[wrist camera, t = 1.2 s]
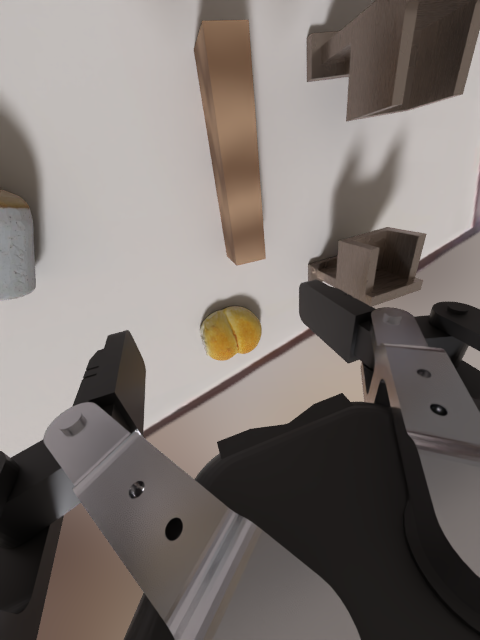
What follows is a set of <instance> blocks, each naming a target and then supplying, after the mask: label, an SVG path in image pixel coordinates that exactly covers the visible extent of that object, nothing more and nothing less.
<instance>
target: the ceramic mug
mask: <svg viewBox="0 0 480 640" xmlns="http://www.w3.org/2000/svg"><path fill="white" fill-rule="evenodd" d="M33 233H34V228H33V219H32V215H31V211H30V207H29V205H28V204H27V203H26V202H25V201H24V200H23V199H22V198H21V197H20V196H17V195H15V194H13V193H10V192H7V191H4V190H1V189H0V301H2V300H10V299H16V298H19V297H22V296H24V295H27V294H29V293H31V292H32V291H33V290H34V289H35V287H36V278H35V255H34V241H33Z"/></svg>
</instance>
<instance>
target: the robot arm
mask: <svg viewBox="0 0 480 640" xmlns="http://www.w3.org/2000/svg"><path fill="white" fill-rule="evenodd" d="M299 314H300V317H301V320H302V321H303V323H304V324H305V325H306V326H307V327H309V328H310V329H311V330H312V331H313V332H314V333H315V334H316V335H317V336H319V337H320V338H321V339H322V340H323V341H324V342H325V343H326V344H327V345H328V346H329V347H331V348H332V349H333V350H334V351H335V352H336V353H337V354H338V355H339V356H341V357H342V358H343V359H344V360H345V361H346V362H347V363H351V362H354V361H356V360H361V361H362V363H361V375H362V385H363V394H364V402H350V401H349V400H348V399H347V398H346V397H345V396H344V394H343V393H341V394H339V395H336V396H333V397H331V398H329V399H326V400H323V401H321V402H318V403H316V404H314V405H312V406H311V407H310V408H308V409H307V410H306V411H304V412H303V413H302V414H300V415H299V416H298V417H297V418H295V419H294V420H292V421H291V422H290V423H288V424H284V425H277V426H269V427H262V428H254V429H249V430H247V431H244V432H241V433H239V434H237V435H234V436H232V437H229V438H227V439H224V440H221V441H219V442H217V444H218V448H219V452H220V453H219V454H218V455H217V456H215V457H214V458H213V459H212V460H211V461H210V462H209V463H208V464H206V466H205V467H204V468H203V469H202V470H201V471H200V473H199V474H198V475H197V477H196V478H195V479H193V478H192V477H191V476H189V475H188V474H187V473H186V472H185V471H183V470H182V469H181V468H180V467H178V466H177V465H176V464H175V463H174V462H172V461H171V460H170V459H169V458H168V457H166V456H165V455H164V454H163V453H161V452H160V451H159V450H158V449H157V448H155V447H154V446H153V445H152V444H151V443H149V442H148V441H147V440H146V439H144V438H143V425H144V400H145V376H146V369H145V364H144V361H143V358H142V356H141V354H140V352H139V350H138V348H137V345H136V343H135V341H134V339H133V337H132V335H131V333H130V332H129V331H128V330H126V331H123V332H119V333H115V334H111V335H109V336H108V337H107V341H106V344H105V347H104V349H102V350H98V351H97V352H96V353H95V355H94V356H93V357H92V358H91V359H90V360H89V363H88V366H87V368H86V371H85V374H84V377H83V378H84V379H83V380H82V382H81V385H80V387H79V390H78V393H77V396H76V398H75V401H74V404H73V407H71V408H69V409H67V410H66V411H64V412H63V413H61V414H60V415H59V416H58V417H57V418H56V419H54V421H53V422H52V423H51V424H50V425H49V427H48V428H47V430H46V432H45V434H44V438H43V440H42V441H40V442H38V443H36V444H35V445H33V446H31V447H29V448H27V449H26V450H24V451H22V452H20V453H19V454H17V455H15V456H13V457H11V458H10V457H8V456H7V455H6V454H5V453H3V452H2V451H0V640H36V638H37V634H38V630H39V625H40V621H41V616H42V612H43V607H44V603H45V598H46V594H47V589H48V584H49V580H50V575H51V571H52V566H53V562H54V557H55V553H56V548H57V543H58V539H59V535H60V530H61V526H62V521H63V516H64V514H66V513H67V512H68V511H70V510H71V509H72V508H74V507H75V506H77V505H78V504H79V503H82V505H83V506H84V507H85V509H86V510H87V512H88V513H89V515H90V516H91V517H92V519H93V520H94V522H95V523H96V525H97V526H98V528H99V529H100V530H101V532H102V533H103V535H104V536H105V538H106V539H107V540H108V542H109V543H110V545H111V546H112V547H113V549H114V550H115V552H116V553H117V555H118V556H119V558H120V559H121V560H122V562H123V563H124V565H125V566H126V568H127V569H128V570H129V572H130V573H131V575H132V576H133V578H134V579H135V580H136V581H137V583H138V585H139V586H140V587H141V589H142V590H143V592H144V593H143V596H142V598H141V600H140V603H139V605H138V607H137V610H136V612H135V614H134V617H133V619H132V621H131V624H130V626H129V628H128V631H127V633H126V635H125V638H124V640H480V371H479V370H477V369H476V368H474V367H472V366H471V365H469V364H468V363H466V362H464V361H462V358H463V356H464V354H465V352H466V350H467V348H468V346H471V347H473V348H475V349H477V350H478V351H480V309H477V308H475V307H473V306H470V305H467V304H462V303H458V302H439V303H436V304H434V305H433V307H432V310H431V313H430V315H429V316H418V317H414V316H413V315H411V314H410V313H409V312H407V311H404V310H401V309H397V308H389V307H384V308H378V309H375V308H373V307H371V306H369V305H367V304H366V303H364V302H362V301H360V300H358V299H356V298H354V297H353V296H351V295H349V294H348V295H347V293H346V292H344V291H342V290H340V289H338V288H334V287H330V286H328V285H326V284H324V283H323V282H321V281H319V280H317V279H315V280H311V281H308V282H304V283H301V284H300V287H299Z"/></svg>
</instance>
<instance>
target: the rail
mask: <svg viewBox="0 0 480 640" xmlns="http://www.w3.org/2000/svg"><path fill="white" fill-rule="evenodd" d="M194 54H195V60H196V66H197V72H198V79H199V85H200V91H201V97H202V104H203V110H204V116H205V122H206V128H207V135H208V141H209V147H210V153H211V159H212V166H213V172H214V178H215V184H216V191H217V197H218V203H219V209H220V215H221V222H222V228H223V234H224V240H225V246H226V253H227V257H228V258H230V259H231V260H232V261H233V262H234V263H235V264H236V265H241V264H245V263H250V262H254V261H258V260H262V259H266V257H265V243H264V229H263V215H262V201H261V187H260V173H259V159H258V145H257V131H256V117H255V103H254V89H253V75H252V61H251V47H250V33H249V20H213V21H202V23H201V27H200V30H199V34H198V37H197V41H196V44H195V48H194Z"/></svg>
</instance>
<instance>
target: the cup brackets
mask: <svg viewBox="0 0 480 640" xmlns="http://www.w3.org/2000/svg"><path fill="white" fill-rule="evenodd" d="M479 30H480V0H376V1H375V2H374V3H373V4H372V5H370V6H369V7H368V8H367V9H366V10H364V11H363V12H362V13H361V14H360V15H358V16H357V17H356V18H355V19H354V20H352V21H351V22H350V23H349V24H348V25H346V26H345V27H344V28H343V29H342V30H340V31H332V32H321V33H312V34H310V35H309V36H308V37H307V82H311V81H319V80H326V79H334V78H341V77H349V86H348V102H347V117H346V121H351V120H357V119H363V118H369V117H374V116H380V115H386V114H392V113H397V112H403V111H408V110H411V109H415V108H418V107H421V106H425V105H428V104H431V103H435V102H438V101H441V100H445V99H448V98H451V97H455V96H458V95H461V94H463V91H464V87H465V84H466V80H467V76H468V72H469V68H470V64H471V61H472V57H473V53H474V49H475V45H476V41H477V37H478V34H479ZM425 237H426V234H424V233H419V232H413V231H407V230H401V229H395V228H390V227H386V228H382V229H379V230H375V231H371V232H368V233H364V234H361V235H357V236H353V237H350V238H346V239H343V240H339V243H338V256H335V257H331V258H328V259H324V260H321V261H318V262H314V263H311V264H308V281H311V280H315V279H317V280H319V281H321V282H322V281H324V282H326V283H328V284H330V285H332V286H333V287H335V288H338V289H340V290H342V291H344V292H346V293H347V294H349V295H351V296H353V297H354V298H356V299H358V300H360V301H362V302H364V303H366V304H367V305H369V306H371V307H372V306H374V305H377V304H380V303H383V302H386V301H389V300H392V299H395V298H397V297H401V296H404V295H406V294H409V293H412V292H415V291H418V290H420V289H421V286H422V282H423V280H421V279H418V278H415V275H416V272H417V268H418V264H419V260H420V256H421V252H422V249H423V245H424V241H425Z"/></svg>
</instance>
